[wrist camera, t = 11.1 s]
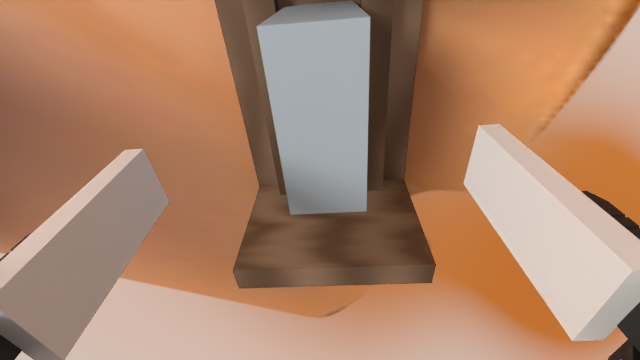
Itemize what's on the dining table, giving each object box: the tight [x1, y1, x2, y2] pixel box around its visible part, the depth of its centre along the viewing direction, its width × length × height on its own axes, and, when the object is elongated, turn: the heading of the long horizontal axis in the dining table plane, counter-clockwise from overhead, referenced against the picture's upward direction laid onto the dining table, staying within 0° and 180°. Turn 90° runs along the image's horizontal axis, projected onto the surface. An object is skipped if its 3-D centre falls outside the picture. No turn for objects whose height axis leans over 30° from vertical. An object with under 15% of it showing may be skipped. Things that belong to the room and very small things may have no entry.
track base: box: [215, 0, 436, 288], centre depth 19 cm, size 14×24×11 cm, turn 4°
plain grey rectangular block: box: [256, 0, 370, 215], centre depth 18 cm, size 4×10×10 cm, turn 4°
